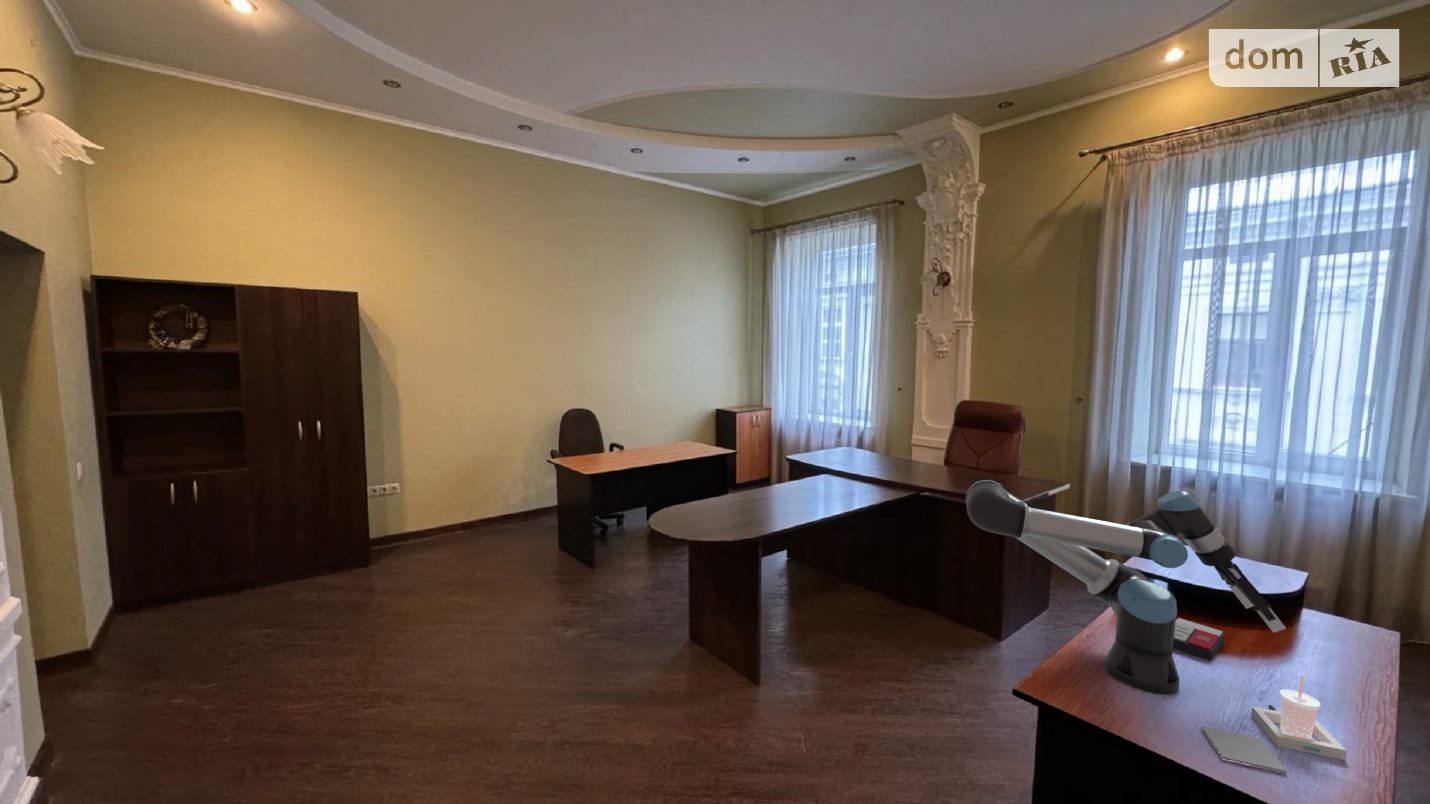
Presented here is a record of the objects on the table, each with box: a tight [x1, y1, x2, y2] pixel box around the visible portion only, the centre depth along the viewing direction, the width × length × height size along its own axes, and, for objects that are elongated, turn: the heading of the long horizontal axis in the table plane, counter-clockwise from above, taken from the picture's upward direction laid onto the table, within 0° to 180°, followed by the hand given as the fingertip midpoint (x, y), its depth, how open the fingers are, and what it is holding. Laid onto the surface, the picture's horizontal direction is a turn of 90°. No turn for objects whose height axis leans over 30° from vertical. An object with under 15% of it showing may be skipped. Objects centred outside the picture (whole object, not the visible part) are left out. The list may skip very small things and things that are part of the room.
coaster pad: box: [1201, 725, 1288, 776], centre depth 117 cm, size 10×10×1 cm
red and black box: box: [1173, 617, 1226, 662], centre depth 159 cm, size 11×4×15 cm
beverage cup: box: [1279, 674, 1321, 740], centre depth 120 cm, size 6×6×14 cm
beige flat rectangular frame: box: [1250, 704, 1348, 761], centre depth 123 cm, size 11×16×2 cm
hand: (1264, 617), depth 143 cm, fingers open, 13 cm apart
